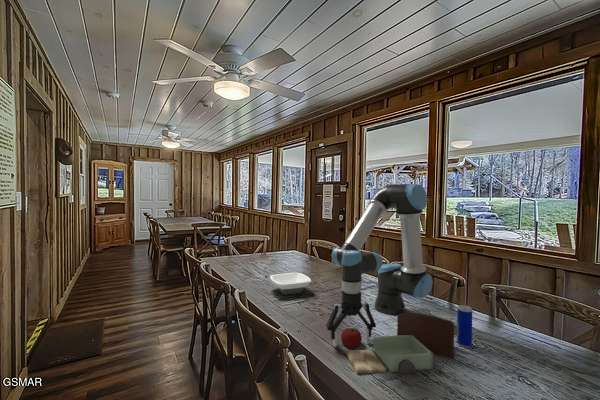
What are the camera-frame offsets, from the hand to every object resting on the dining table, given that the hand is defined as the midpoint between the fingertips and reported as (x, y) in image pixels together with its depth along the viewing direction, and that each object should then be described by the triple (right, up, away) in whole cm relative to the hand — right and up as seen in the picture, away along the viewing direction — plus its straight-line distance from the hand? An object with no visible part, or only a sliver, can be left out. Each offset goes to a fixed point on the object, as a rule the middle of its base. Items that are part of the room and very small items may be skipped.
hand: (350, 346), depth 117 cm
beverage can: (+45, 0, +2) cm, 45 cm away
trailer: (+16, 0, -11) cm, 19 cm away
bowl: (-26, +1, +65) cm, 70 cm away
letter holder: (+29, -1, 0) cm, 29 cm away
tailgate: (+8, +1, -12) cm, 14 cm away
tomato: (0, 0, 0) cm, 0 cm away
